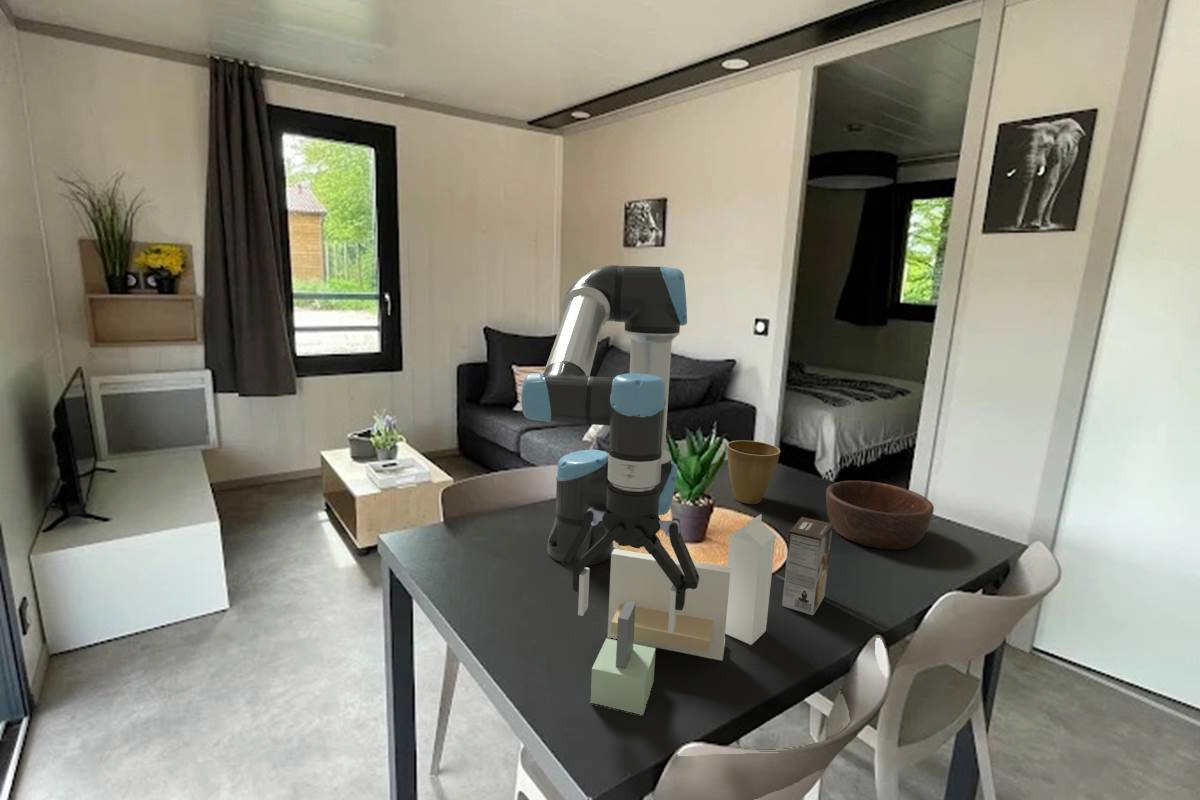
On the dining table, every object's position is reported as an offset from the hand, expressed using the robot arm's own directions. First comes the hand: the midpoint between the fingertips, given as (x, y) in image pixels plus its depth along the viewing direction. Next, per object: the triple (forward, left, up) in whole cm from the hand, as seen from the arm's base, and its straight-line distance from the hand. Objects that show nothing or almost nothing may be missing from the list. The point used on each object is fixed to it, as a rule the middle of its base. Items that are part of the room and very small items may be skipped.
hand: (626, 619), depth 90 cm
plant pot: (+15, +93, -13) cm, 95 cm away
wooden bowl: (+47, +80, -13) cm, 94 cm away
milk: (+17, +23, -13) cm, 31 cm away
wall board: (+4, +12, -12) cm, 18 cm away
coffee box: (+28, +38, -13) cm, 49 cm away
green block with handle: (0, 0, -13) cm, 13 cm away
